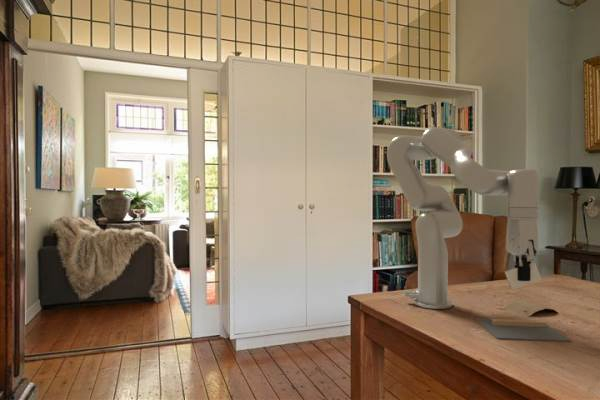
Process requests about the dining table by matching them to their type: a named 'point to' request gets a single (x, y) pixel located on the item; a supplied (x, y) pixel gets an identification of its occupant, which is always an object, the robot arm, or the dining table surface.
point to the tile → (515, 283)
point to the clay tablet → (525, 307)
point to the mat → (521, 330)
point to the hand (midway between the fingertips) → (522, 279)
